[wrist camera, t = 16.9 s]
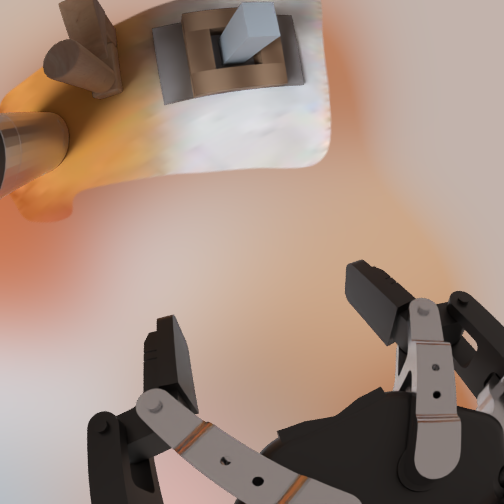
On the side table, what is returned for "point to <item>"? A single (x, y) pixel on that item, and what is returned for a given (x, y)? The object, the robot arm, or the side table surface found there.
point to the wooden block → (86, 50)
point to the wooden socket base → (209, 60)
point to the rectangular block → (248, 32)
